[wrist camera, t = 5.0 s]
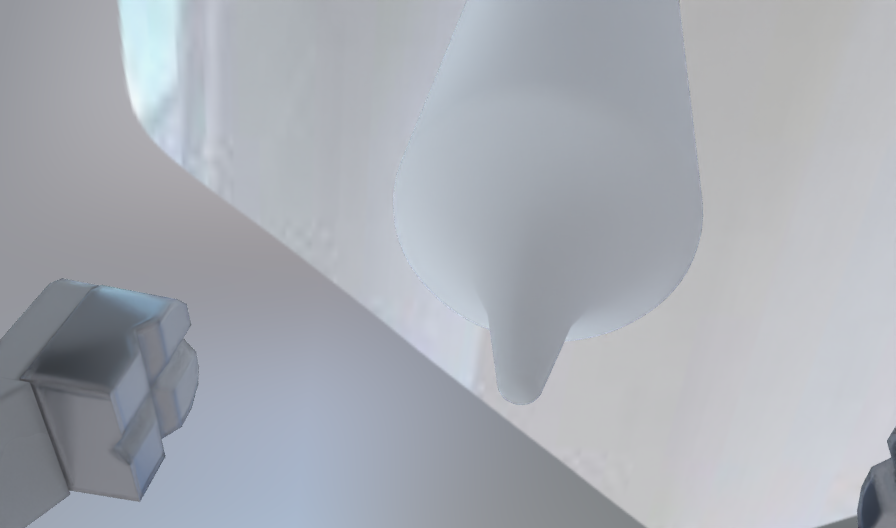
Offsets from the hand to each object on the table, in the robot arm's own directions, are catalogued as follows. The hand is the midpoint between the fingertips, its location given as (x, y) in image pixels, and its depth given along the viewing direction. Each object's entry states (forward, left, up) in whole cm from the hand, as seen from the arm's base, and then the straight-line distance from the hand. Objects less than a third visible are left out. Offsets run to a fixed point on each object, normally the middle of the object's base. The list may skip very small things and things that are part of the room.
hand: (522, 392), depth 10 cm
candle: (0, 0, -25) cm, 25 cm away
